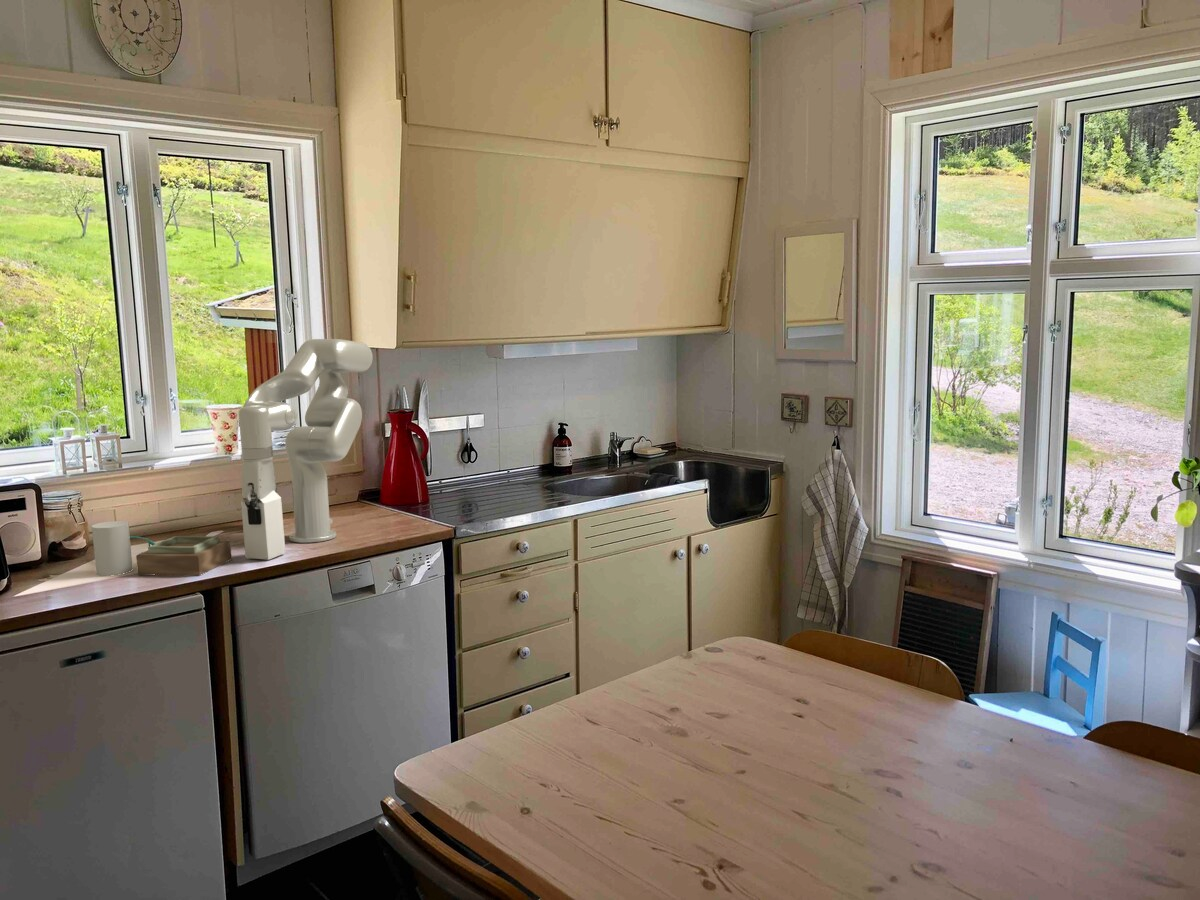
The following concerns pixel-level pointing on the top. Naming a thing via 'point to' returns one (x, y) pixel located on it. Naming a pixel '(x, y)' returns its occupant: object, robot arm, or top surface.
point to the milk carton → (265, 529)
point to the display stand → (184, 555)
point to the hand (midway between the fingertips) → (262, 520)
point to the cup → (112, 548)
